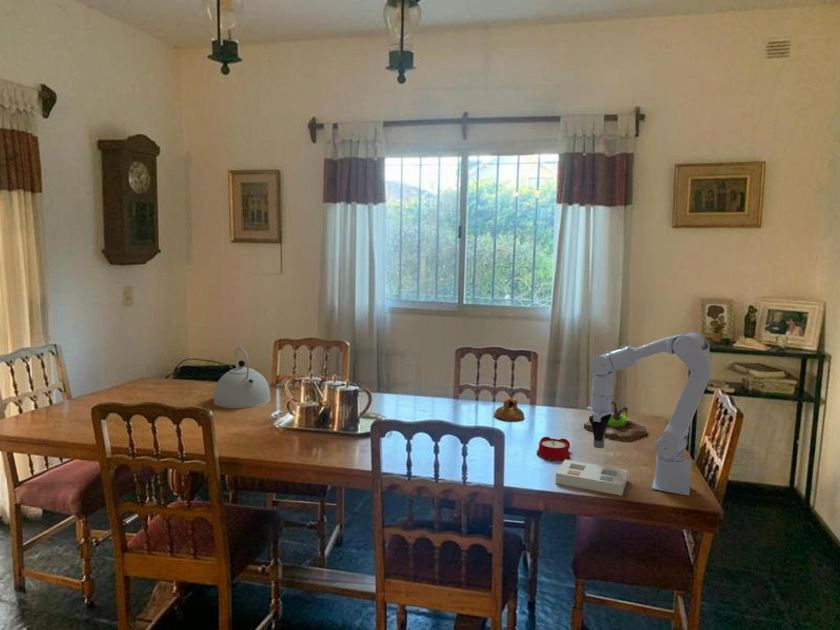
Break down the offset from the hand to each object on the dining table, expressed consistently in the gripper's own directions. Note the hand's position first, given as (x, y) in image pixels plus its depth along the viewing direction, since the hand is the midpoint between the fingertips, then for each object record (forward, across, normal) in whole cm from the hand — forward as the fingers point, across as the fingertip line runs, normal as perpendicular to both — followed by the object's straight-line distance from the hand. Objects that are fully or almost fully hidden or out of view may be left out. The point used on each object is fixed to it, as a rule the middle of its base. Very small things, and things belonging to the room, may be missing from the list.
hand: (599, 438), depth 180 cm
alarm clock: (+10, -7, -15) cm, 19 cm away
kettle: (+10, -8, -145) cm, 145 cm away
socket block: (+9, +11, 0) cm, 14 cm away
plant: (+10, -41, 0) cm, 42 cm away
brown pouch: (+10, -40, -40) cm, 57 cm away
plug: (+2, 0, 0) cm, 2 cm away
